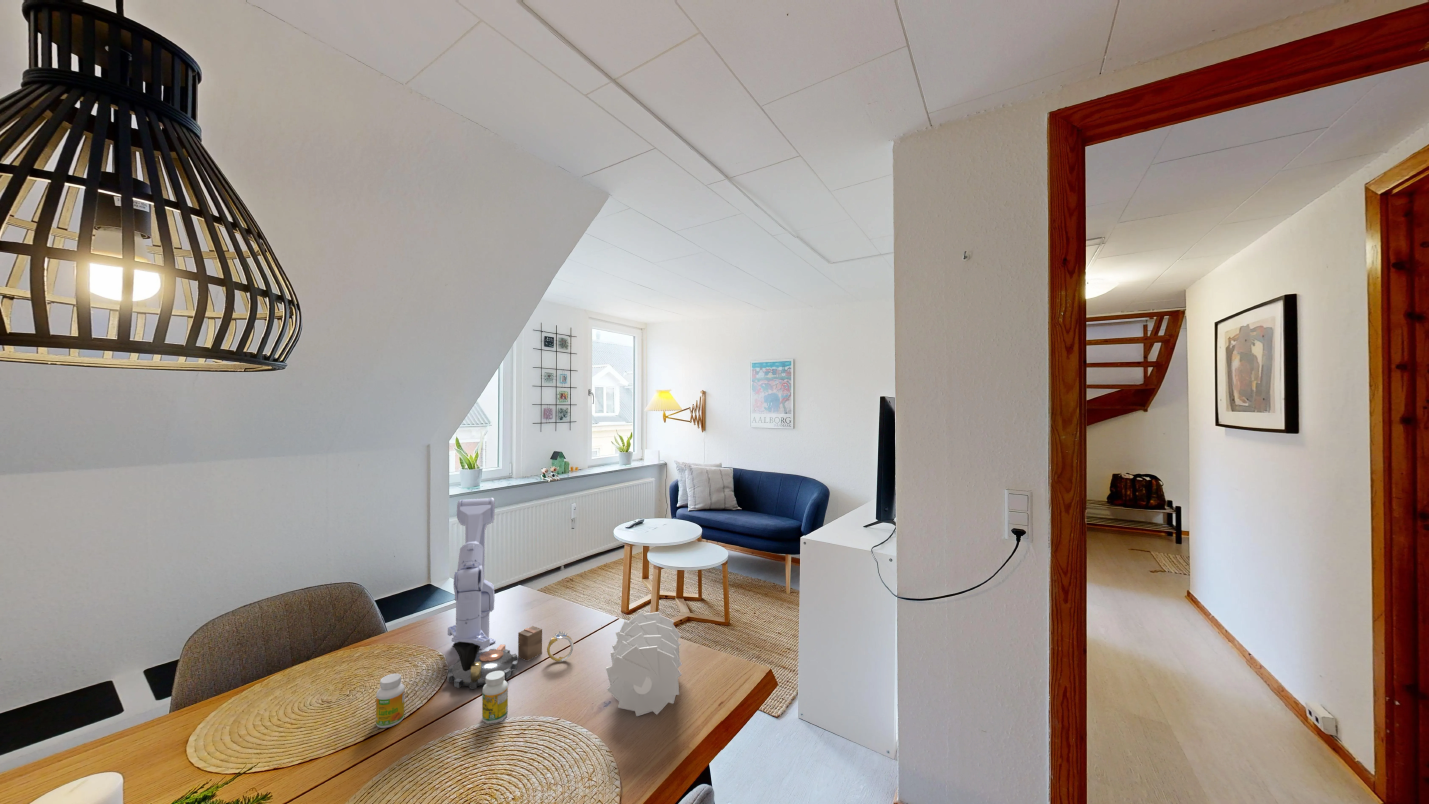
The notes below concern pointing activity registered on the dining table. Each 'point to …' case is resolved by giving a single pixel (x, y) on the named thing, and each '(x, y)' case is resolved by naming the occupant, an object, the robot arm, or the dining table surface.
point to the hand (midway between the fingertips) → (468, 669)
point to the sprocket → (482, 668)
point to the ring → (552, 640)
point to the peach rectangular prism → (501, 647)
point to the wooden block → (529, 643)
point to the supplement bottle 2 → (495, 697)
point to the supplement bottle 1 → (390, 701)
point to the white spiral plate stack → (645, 664)
